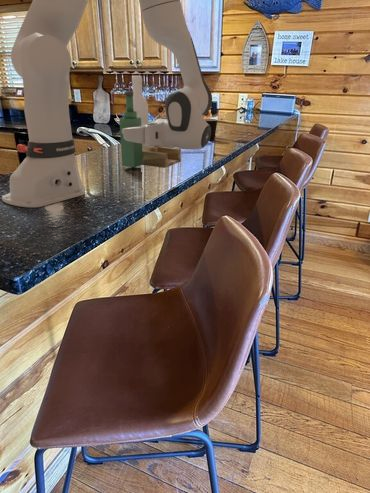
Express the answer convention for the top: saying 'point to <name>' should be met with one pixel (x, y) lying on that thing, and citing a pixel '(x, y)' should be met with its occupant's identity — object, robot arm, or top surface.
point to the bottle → (140, 102)
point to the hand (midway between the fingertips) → (128, 129)
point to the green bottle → (129, 149)
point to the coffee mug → (212, 127)
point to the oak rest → (161, 156)
